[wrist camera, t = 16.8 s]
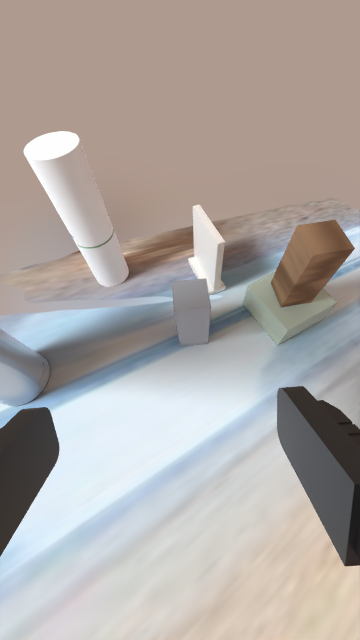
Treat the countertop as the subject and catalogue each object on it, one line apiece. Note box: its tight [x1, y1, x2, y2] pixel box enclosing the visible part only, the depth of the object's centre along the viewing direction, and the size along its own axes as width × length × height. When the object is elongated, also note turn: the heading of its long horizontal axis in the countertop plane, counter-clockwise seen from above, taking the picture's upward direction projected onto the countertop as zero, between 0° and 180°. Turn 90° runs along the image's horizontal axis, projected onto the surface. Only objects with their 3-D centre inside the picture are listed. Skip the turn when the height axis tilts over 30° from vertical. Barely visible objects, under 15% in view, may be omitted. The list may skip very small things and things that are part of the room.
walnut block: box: [271, 220, 355, 307], centre depth 35 cm, size 5×5×12 cm
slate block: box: [172, 278, 211, 346], centre depth 39 cm, size 5×5×12 cm
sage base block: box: [243, 272, 337, 345], centre depth 43 cm, size 10×10×6 cm
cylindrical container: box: [24, 131, 129, 287], centre depth 42 cm, size 7×7×25 cm
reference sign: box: [188, 205, 226, 295], centre depth 45 cm, size 4×10×13 cm, turn 20°
